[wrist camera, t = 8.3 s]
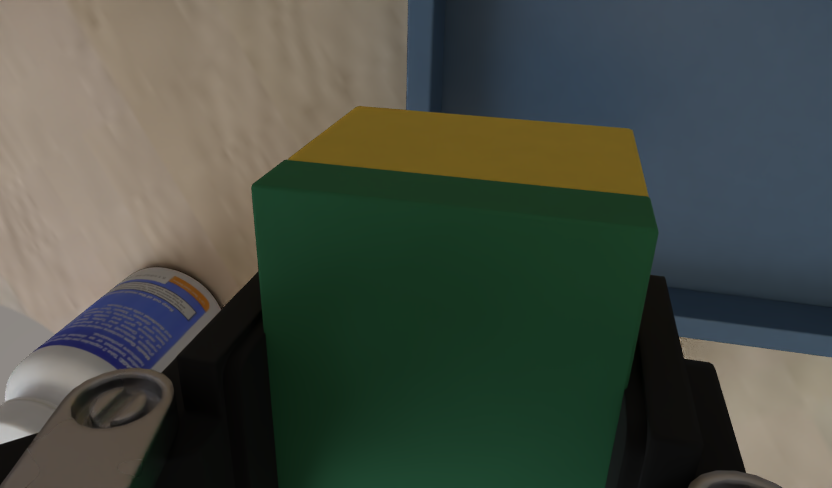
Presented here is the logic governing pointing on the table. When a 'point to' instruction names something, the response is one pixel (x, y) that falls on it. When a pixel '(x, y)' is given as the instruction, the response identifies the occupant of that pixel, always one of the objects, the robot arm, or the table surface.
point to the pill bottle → (107, 344)
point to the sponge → (452, 300)
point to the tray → (675, 134)
